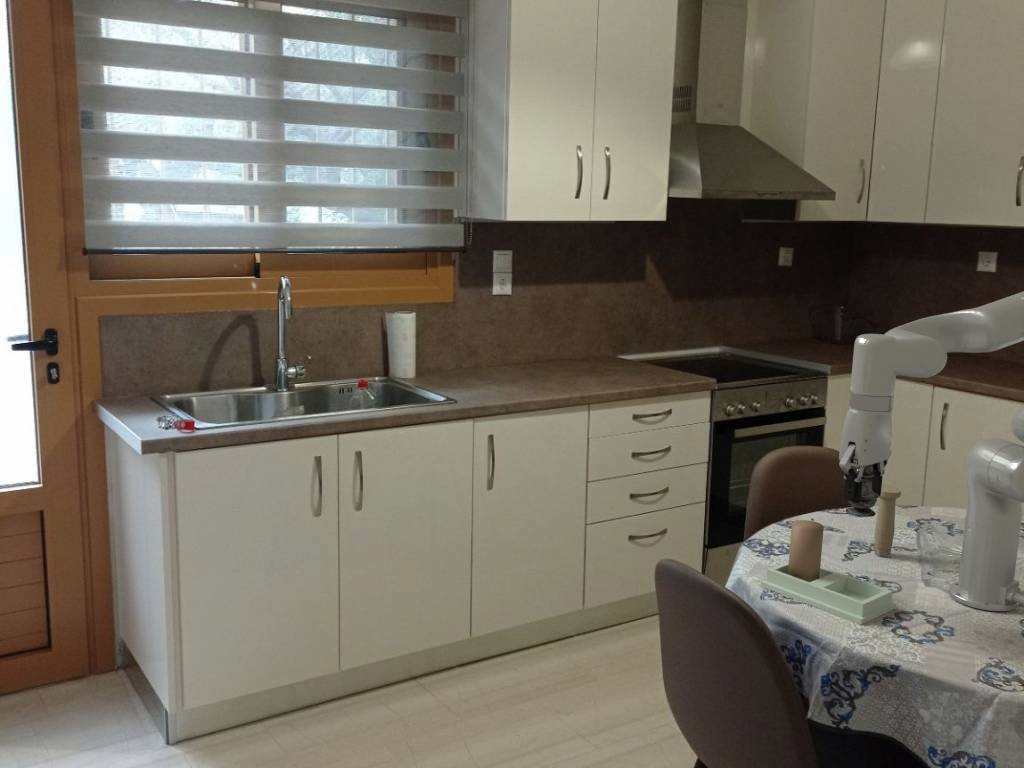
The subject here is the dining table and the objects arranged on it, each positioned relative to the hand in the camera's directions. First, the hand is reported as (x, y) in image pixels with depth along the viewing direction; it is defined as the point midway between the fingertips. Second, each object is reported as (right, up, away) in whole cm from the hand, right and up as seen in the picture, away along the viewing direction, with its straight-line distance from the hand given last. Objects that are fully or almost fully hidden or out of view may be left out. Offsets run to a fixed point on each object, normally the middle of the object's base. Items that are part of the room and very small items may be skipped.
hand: (862, 497), depth 184 cm
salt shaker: (0, -3, +1) cm, 3 cm away
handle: (+15, -16, +31) cm, 39 cm away
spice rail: (-4, -20, +8) cm, 22 cm away
